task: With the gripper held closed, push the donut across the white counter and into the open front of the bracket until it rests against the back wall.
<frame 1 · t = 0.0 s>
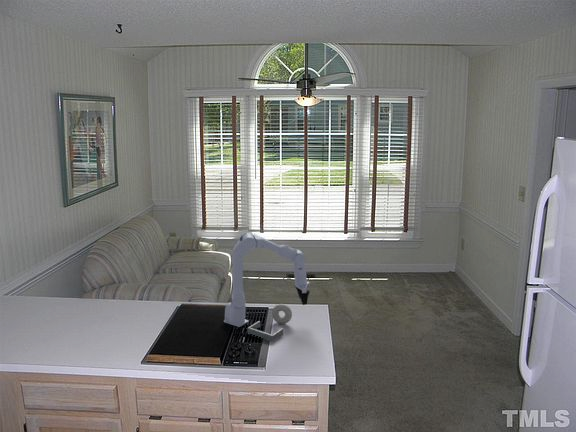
hand: (303, 301, 248), 11 cm above the counter, tool pointing down, fingers open, 7 cm apart
bracket: (267, 332, 237), on the counter
donut: (281, 323, 247), on the counter
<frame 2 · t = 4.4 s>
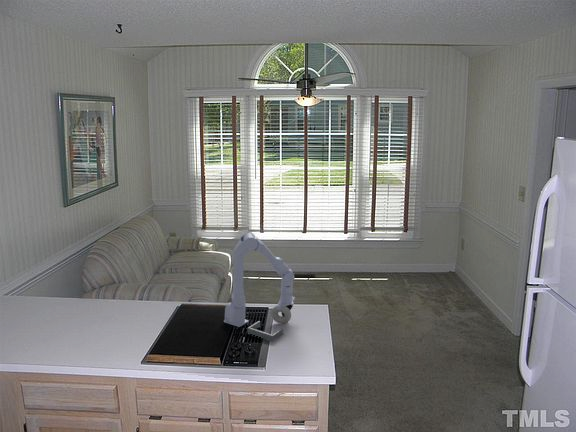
hand: (285, 318, 250), 1 cm above the counter, tool pointing down, fingers closed
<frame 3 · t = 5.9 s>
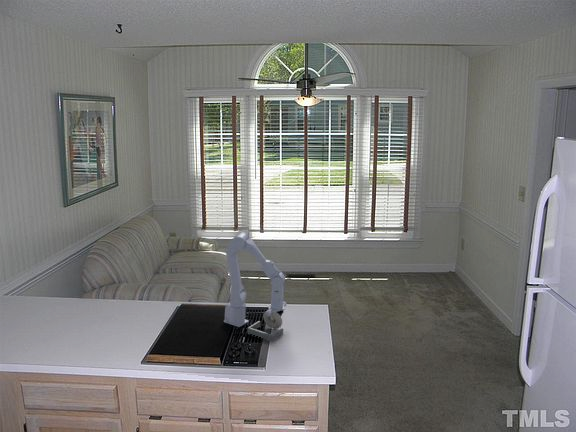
hand: (276, 324, 242), 1 cm above the counter, tool pointing down, fingers closed, pressing on donut
donut: (273, 327, 242), on the counter, touching gripper
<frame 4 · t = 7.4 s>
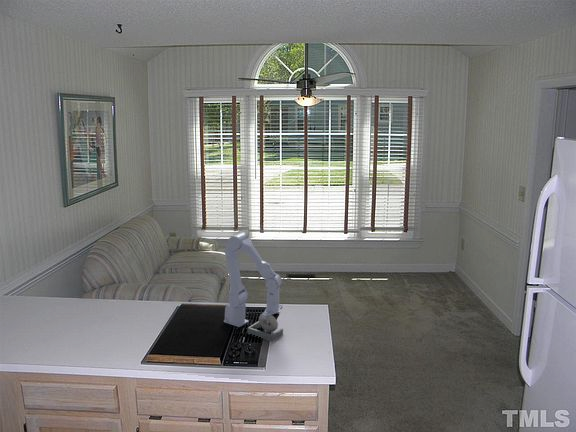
hand: (271, 327, 239), 1 cm above the counter, tool pointing down, fingers closed
donut: (269, 330, 238), on the counter, touching gripper
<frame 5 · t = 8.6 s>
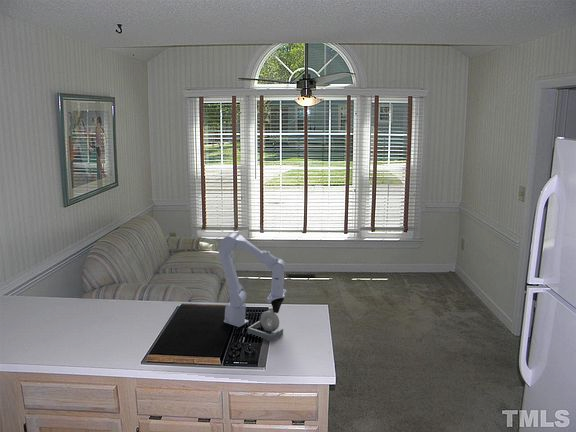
hand: (275, 312, 241), 8 cm above the counter, tool pointing down, fingers closed
donut: (269, 331, 238), on the counter
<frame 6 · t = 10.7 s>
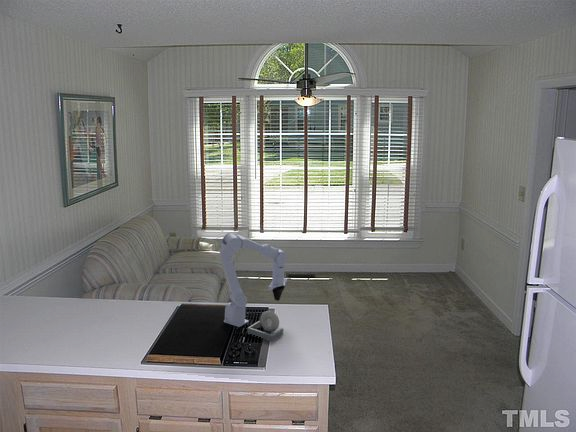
hand: (277, 299, 251), 9 cm above the counter, tool pointing down, fingers closed
nothing on the counter moved.
at the end: donut inside the target area on the bracket (2.5 cm from its centre), point 0.0 cm above the bracket's base; donut moved 10.5 cm from its start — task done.
